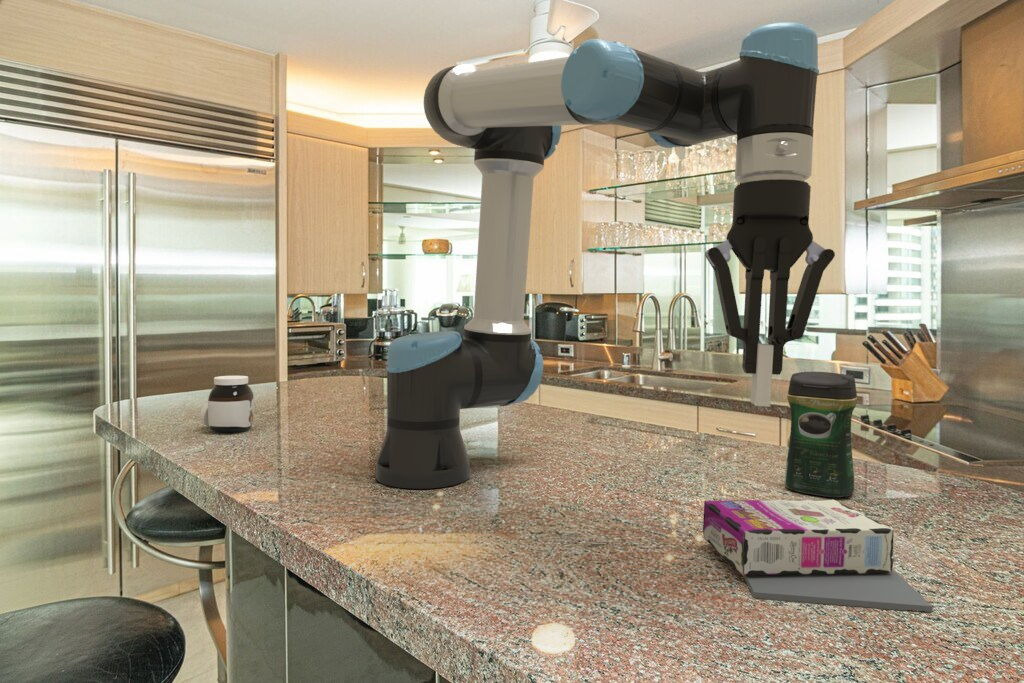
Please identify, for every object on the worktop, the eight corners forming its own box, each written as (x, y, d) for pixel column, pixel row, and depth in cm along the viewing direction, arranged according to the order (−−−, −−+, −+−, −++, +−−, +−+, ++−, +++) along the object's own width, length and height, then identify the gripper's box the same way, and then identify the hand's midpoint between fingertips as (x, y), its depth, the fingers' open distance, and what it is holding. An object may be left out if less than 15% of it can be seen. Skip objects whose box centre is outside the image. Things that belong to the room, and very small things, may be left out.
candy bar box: (741, 579, 66) (894, 575, 67) (742, 531, 66) (896, 528, 67) (701, 540, 77) (833, 537, 79) (702, 499, 77) (835, 497, 78)
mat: (753, 598, 63) (754, 592, 63) (725, 539, 79) (725, 534, 79) (932, 612, 61) (932, 606, 61) (866, 549, 77) (866, 544, 77)
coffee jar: (857, 491, 101) (863, 372, 100) (847, 503, 95) (852, 376, 94) (792, 480, 107) (797, 368, 106) (778, 490, 101) (783, 371, 100)
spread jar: (239, 435, 135) (238, 380, 134) (185, 434, 135) (184, 379, 135) (262, 425, 147) (261, 374, 146) (212, 424, 147) (212, 373, 147)
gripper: (713, 176, 66) (702, 406, 67) (850, 176, 64) (835, 413, 65) (703, 188, 73) (693, 396, 75) (826, 188, 71) (813, 401, 73)
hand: (760, 404), depth 70 cm, fingers closed
